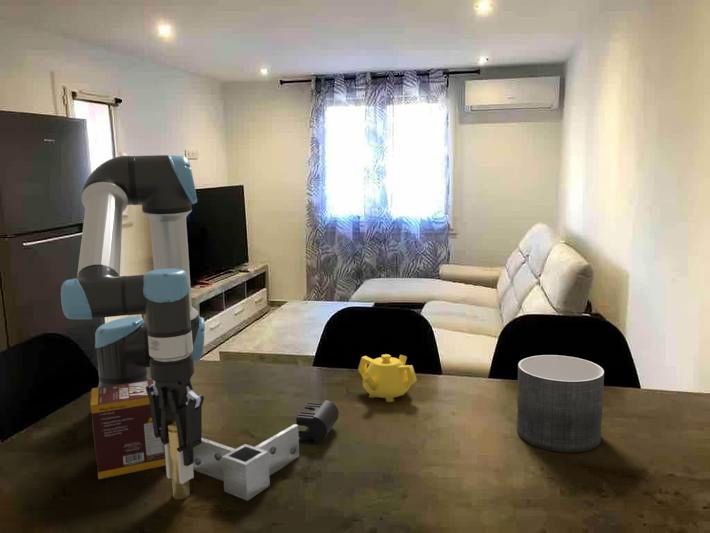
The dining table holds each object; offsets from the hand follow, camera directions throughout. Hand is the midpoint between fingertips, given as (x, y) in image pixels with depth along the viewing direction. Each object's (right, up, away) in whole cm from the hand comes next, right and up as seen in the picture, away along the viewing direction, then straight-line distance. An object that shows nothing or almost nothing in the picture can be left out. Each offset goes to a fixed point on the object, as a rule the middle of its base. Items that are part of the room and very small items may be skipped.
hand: (180, 477), depth 104 cm
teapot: (+41, +4, +47) cm, 63 cm away
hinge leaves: (+10, -2, +10) cm, 15 cm away
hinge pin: (0, -3, +1) cm, 4 cm away
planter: (+78, +1, +22) cm, 81 cm away
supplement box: (-14, -2, +14) cm, 20 cm away
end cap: (+24, 0, +24) cm, 34 cm away
